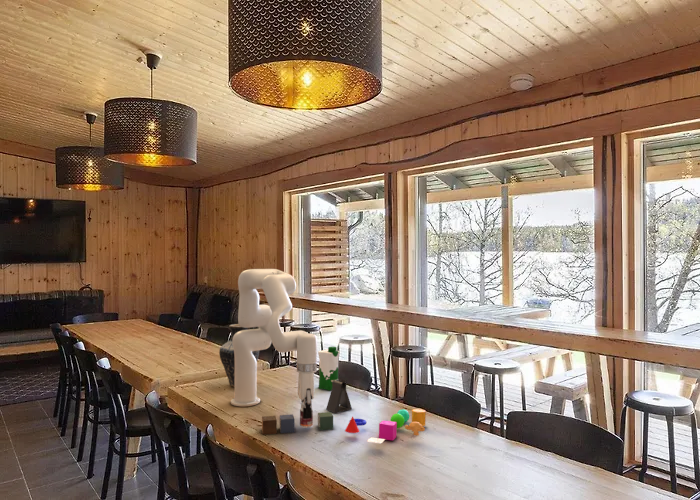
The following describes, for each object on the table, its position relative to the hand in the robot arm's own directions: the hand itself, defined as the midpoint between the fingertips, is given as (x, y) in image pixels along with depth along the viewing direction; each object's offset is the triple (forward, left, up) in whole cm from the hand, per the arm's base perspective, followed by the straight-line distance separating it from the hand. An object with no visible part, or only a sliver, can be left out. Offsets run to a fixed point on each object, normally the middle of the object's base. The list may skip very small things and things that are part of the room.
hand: (306, 415), depth 188 cm
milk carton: (-54, +19, -5) cm, 57 cm away
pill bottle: (0, 0, -4) cm, 4 cm away
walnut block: (0, -14, -5) cm, 15 cm away
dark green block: (0, +7, -5) cm, 9 cm away
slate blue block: (0, -7, -5) cm, 9 cm away
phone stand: (-20, +17, -5) cm, 27 cm away
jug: (-68, -23, -5) cm, 72 cm away
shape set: (+12, +28, -5) cm, 31 cm away
